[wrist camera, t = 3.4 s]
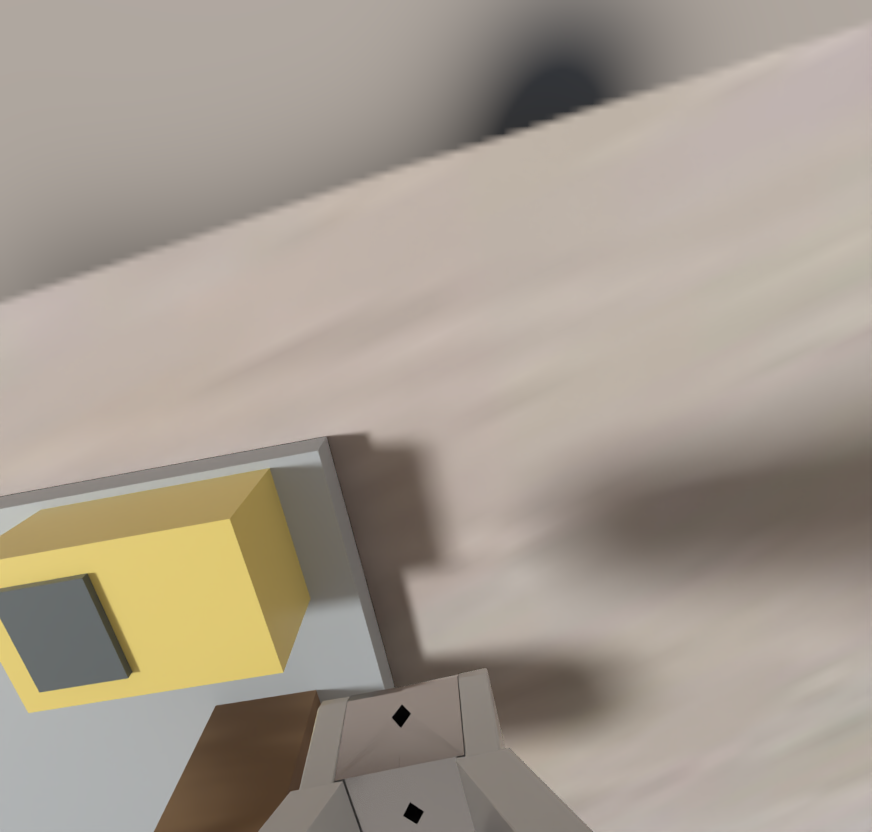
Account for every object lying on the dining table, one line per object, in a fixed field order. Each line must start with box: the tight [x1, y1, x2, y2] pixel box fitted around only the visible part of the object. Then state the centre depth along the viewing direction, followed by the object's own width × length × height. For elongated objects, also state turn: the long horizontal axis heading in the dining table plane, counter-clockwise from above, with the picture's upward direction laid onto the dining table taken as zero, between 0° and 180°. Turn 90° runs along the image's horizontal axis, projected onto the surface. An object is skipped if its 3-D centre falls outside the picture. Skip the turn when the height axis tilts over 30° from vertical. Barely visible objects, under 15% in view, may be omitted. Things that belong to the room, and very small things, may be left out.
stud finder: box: [0, 468, 310, 713], centre depth 14 cm, size 7×4×3 cm, turn 101°
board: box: [0, 437, 395, 832], centre depth 18 cm, size 26×14×1 cm, turn 101°
